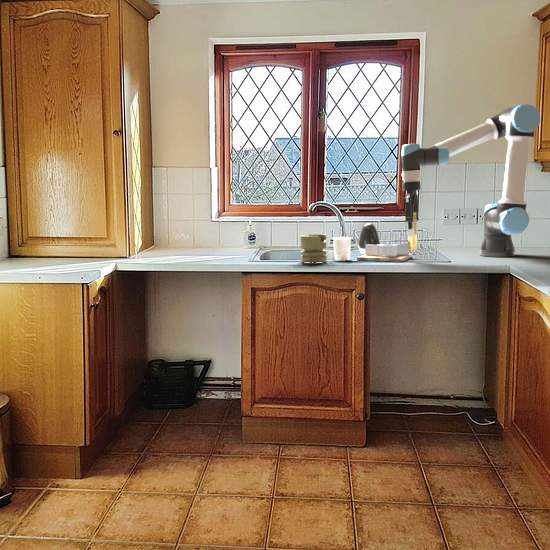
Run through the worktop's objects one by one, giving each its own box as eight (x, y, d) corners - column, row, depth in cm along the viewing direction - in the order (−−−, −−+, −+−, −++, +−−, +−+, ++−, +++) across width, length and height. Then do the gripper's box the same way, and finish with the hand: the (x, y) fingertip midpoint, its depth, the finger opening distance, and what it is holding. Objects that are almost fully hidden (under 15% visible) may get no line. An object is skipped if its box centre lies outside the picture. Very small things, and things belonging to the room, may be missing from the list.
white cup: (339, 261, 283) (339, 239, 282) (330, 259, 290) (329, 237, 288) (354, 260, 287) (354, 237, 285) (344, 258, 293) (344, 236, 292)
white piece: (409, 254, 288) (409, 243, 287) (401, 257, 278) (401, 246, 277) (371, 253, 296) (371, 242, 296) (362, 256, 286) (362, 245, 285)
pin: (417, 248, 275) (417, 211, 273) (415, 249, 272) (414, 212, 270) (409, 248, 277) (409, 211, 275) (407, 249, 274) (406, 212, 271)
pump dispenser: (355, 256, 301) (355, 223, 299) (361, 253, 311) (361, 222, 309) (377, 256, 297) (377, 223, 295) (382, 254, 307) (382, 222, 305)
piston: (295, 235, 280) (310, 233, 289) (296, 263, 282) (310, 260, 291) (316, 236, 273) (331, 234, 282) (317, 264, 275) (331, 261, 284)
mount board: (411, 257, 290) (411, 254, 289) (400, 262, 275) (400, 258, 275) (369, 256, 299) (369, 253, 299) (356, 260, 285) (356, 257, 285)
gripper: (408, 181, 279) (409, 234, 283) (396, 182, 265) (397, 238, 268) (425, 180, 276) (426, 234, 279) (414, 181, 261) (415, 238, 265)
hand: (412, 236), depth 274 cm, fingers closed on pin, 4 cm apart
